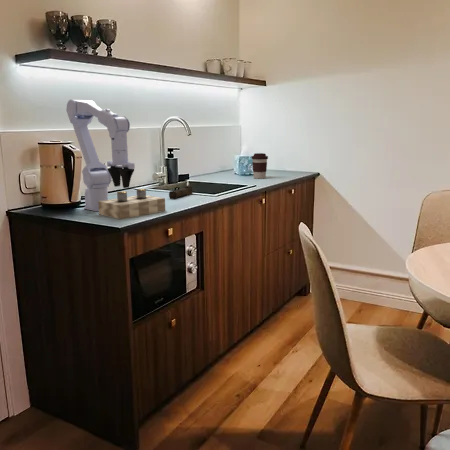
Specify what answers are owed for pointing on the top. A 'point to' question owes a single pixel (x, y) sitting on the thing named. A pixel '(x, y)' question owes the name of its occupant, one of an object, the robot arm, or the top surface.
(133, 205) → the twin-bore block
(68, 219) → the top surface
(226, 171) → the top surface
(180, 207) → the top surface
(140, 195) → the far peg
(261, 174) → the coffee cup
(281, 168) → the top surface
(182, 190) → the hand tool
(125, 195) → the near peg
